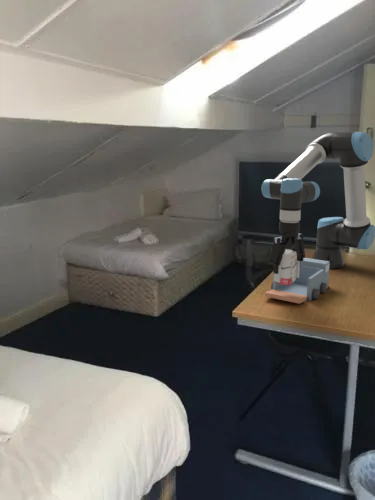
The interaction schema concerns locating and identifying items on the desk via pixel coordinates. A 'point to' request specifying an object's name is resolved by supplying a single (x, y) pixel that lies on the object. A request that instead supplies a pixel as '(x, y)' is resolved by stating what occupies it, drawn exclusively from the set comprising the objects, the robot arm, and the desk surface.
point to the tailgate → (286, 296)
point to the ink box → (288, 267)
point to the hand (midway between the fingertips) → (286, 279)
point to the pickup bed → (308, 279)
